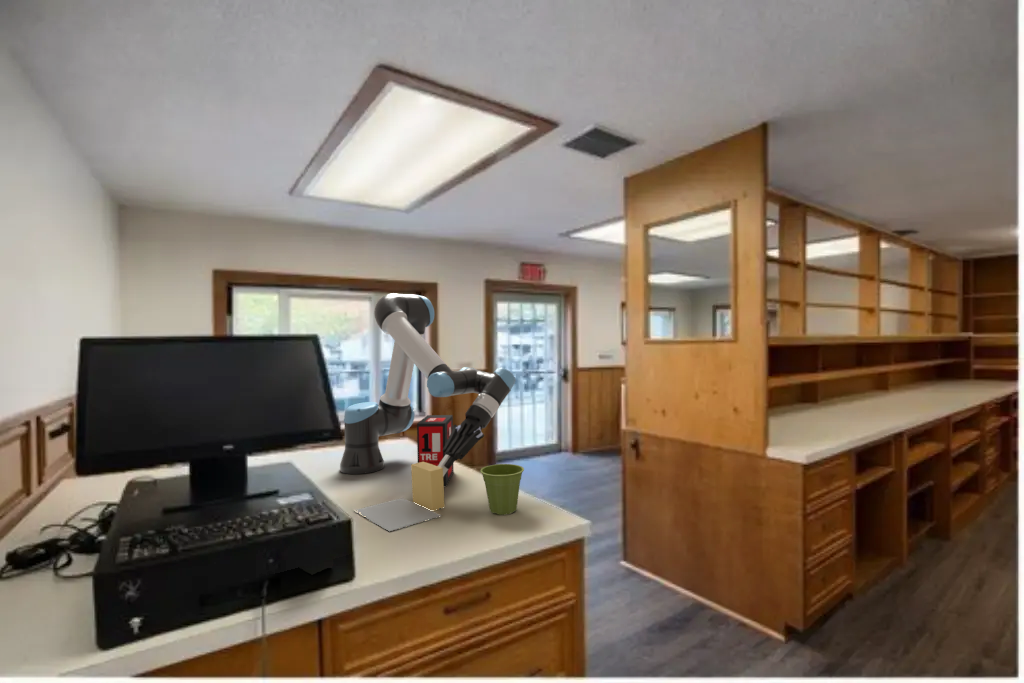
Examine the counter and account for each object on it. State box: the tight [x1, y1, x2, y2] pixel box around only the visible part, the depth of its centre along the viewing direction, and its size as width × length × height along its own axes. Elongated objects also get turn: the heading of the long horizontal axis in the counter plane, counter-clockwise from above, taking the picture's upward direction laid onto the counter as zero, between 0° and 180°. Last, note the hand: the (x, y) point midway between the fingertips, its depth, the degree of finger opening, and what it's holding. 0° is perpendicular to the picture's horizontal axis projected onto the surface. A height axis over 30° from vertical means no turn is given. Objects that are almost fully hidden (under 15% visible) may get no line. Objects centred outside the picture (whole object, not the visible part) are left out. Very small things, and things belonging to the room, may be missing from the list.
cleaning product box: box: [416, 414, 454, 487], centre depth 164 cm, size 16×9×20 cm, turn 179°
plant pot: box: [479, 463, 525, 516], centre depth 133 cm, size 12×12×11 cm
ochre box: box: [410, 462, 445, 511], centre depth 139 cm, size 10×4×11 cm, turn 42°
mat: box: [356, 497, 442, 533], centre depth 132 cm, size 20×15×1 cm
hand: (437, 476), depth 141 cm, fingers closed
